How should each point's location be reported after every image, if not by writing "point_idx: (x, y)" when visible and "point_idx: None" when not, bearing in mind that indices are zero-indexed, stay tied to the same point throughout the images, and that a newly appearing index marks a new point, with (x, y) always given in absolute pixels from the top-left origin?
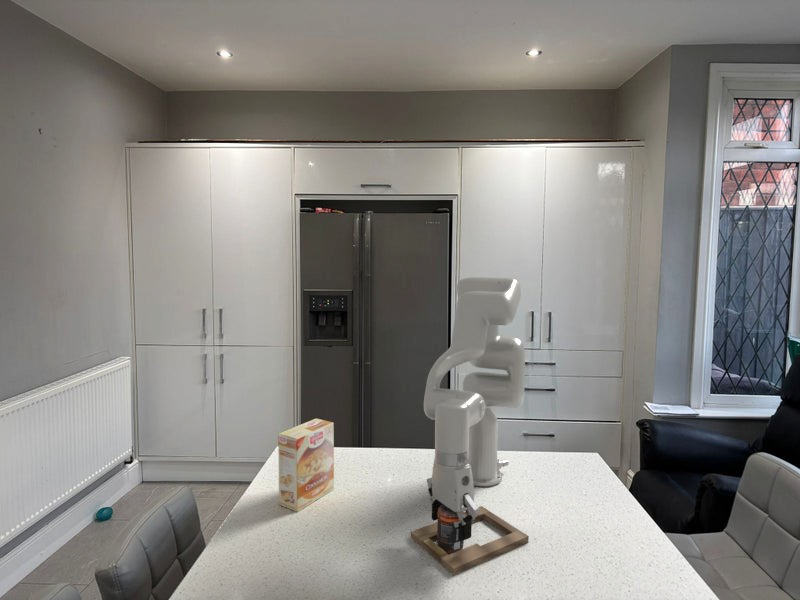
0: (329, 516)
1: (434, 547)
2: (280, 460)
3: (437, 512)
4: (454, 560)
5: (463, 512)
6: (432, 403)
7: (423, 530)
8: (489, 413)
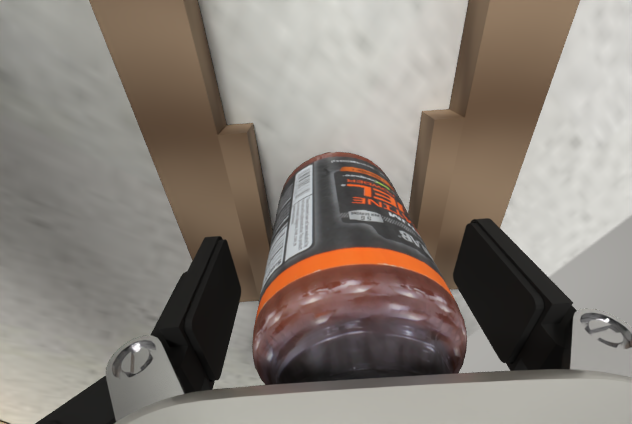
0: (42, 393)
1: None
2: None
3: (226, 308)
4: (450, 266)
5: (454, 310)
6: None
7: None
8: None
